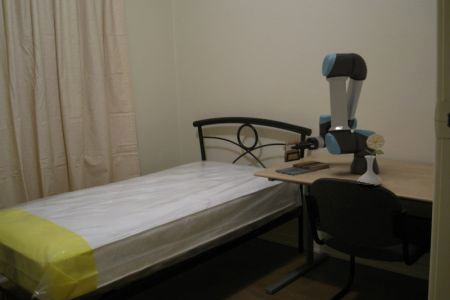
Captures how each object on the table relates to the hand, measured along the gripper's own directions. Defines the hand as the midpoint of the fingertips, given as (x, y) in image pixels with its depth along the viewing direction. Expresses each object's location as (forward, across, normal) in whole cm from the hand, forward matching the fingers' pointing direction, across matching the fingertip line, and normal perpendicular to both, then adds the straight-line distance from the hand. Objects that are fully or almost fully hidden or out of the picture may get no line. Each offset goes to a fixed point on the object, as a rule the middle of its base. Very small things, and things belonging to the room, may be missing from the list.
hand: (284, 148), depth 233 cm
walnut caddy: (-20, 0, -14) cm, 25 cm away
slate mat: (-5, 0, -14) cm, 15 cm away
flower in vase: (-10, -48, -14) cm, 51 cm away
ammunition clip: (-5, 0, -8) cm, 10 cm away
